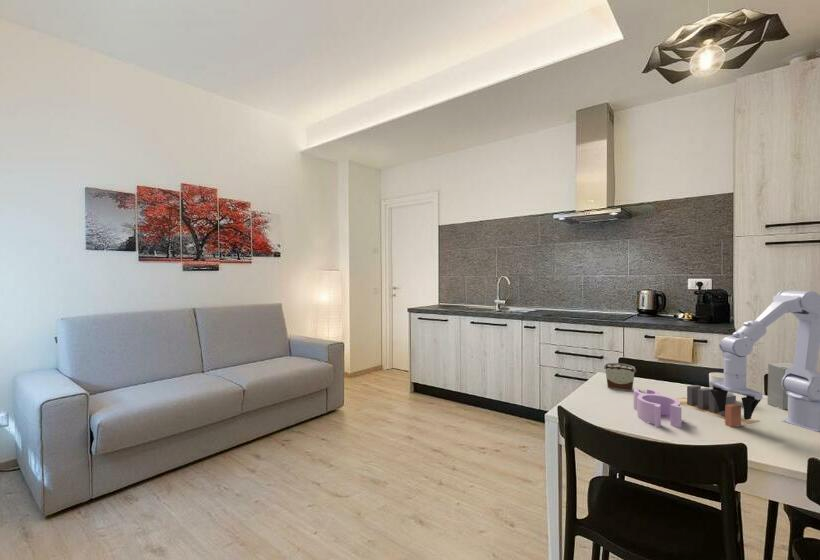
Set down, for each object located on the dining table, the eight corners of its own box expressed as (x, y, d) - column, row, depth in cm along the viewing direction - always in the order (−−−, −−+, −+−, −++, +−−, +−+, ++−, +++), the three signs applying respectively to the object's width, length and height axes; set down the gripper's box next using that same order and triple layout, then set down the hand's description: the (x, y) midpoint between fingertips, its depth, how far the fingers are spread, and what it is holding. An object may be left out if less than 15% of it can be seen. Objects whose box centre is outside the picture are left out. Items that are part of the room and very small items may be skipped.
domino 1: (700, 404, 148) (700, 386, 148) (691, 406, 147) (691, 387, 146) (695, 403, 150) (695, 384, 150) (687, 404, 148) (687, 386, 148)
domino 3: (723, 411, 140) (723, 392, 140) (714, 413, 139) (714, 393, 139) (718, 410, 142) (718, 390, 142) (709, 411, 141) (709, 392, 141)
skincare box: (787, 403, 149) (787, 361, 148) (806, 410, 142) (807, 366, 141) (765, 403, 148) (765, 362, 148) (784, 410, 141) (784, 367, 141)
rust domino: (740, 426, 129) (740, 404, 128) (731, 428, 127) (731, 406, 127) (734, 424, 130) (734, 403, 130) (725, 426, 129) (725, 404, 129)
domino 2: (711, 408, 144) (711, 389, 144) (702, 409, 143) (702, 390, 143) (706, 406, 146) (706, 387, 146) (697, 408, 144) (697, 389, 144)
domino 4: (735, 415, 137) (735, 395, 136) (726, 417, 135) (726, 397, 135) (730, 413, 138) (730, 394, 138) (721, 415, 137) (721, 395, 137)
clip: (624, 406, 149) (624, 388, 149) (660, 407, 147) (660, 389, 147) (648, 427, 129) (648, 406, 129) (689, 428, 127) (689, 407, 127)
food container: (636, 387, 171) (636, 364, 171) (636, 391, 166) (636, 367, 165) (605, 383, 177) (605, 361, 177) (603, 387, 172) (603, 364, 172)
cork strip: (760, 422, 132) (760, 421, 132) (742, 425, 129) (742, 424, 129) (684, 398, 156) (684, 397, 156) (667, 400, 153) (667, 400, 153)
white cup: (725, 397, 156) (725, 372, 156) (739, 404, 149) (740, 378, 148) (704, 397, 157) (704, 372, 157) (717, 403, 149) (717, 377, 149)
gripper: (703, 369, 134) (703, 408, 135) (752, 380, 120) (751, 424, 121) (717, 367, 136) (717, 406, 137) (767, 378, 123) (766, 421, 123)
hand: (734, 414), depth 129 cm, fingers open, 7 cm apart
